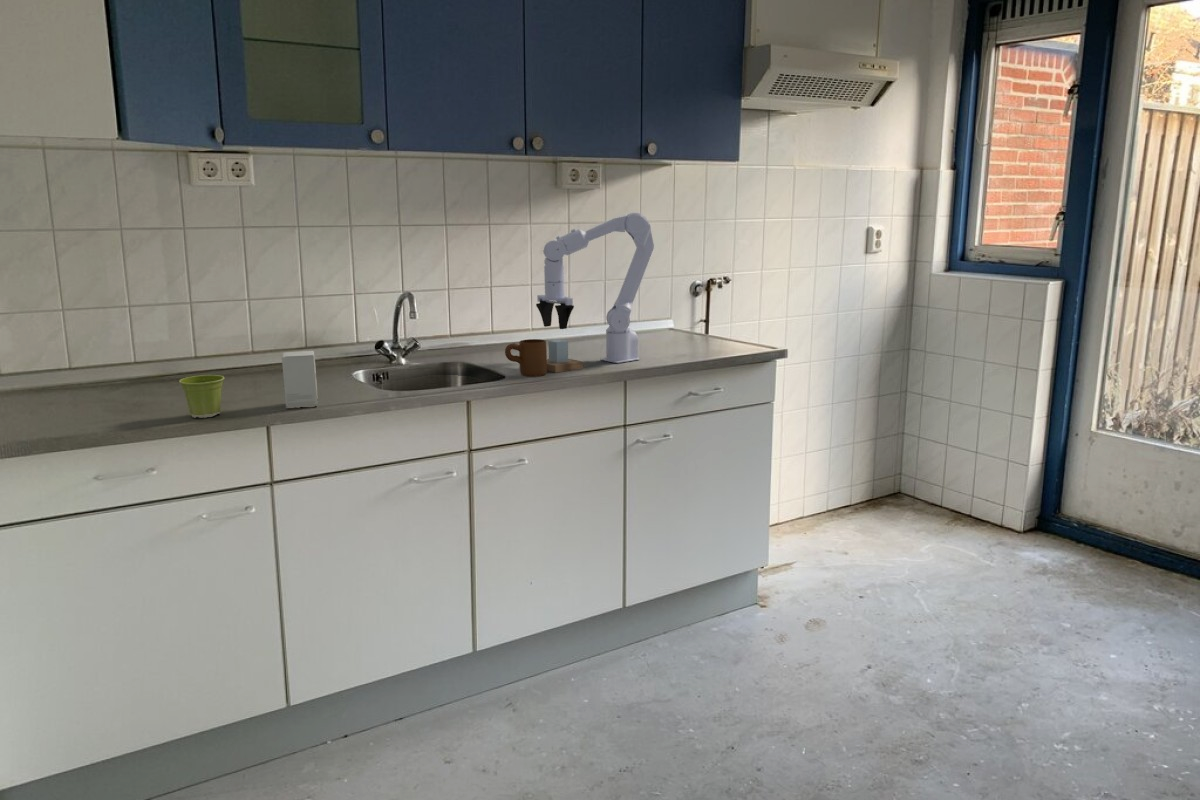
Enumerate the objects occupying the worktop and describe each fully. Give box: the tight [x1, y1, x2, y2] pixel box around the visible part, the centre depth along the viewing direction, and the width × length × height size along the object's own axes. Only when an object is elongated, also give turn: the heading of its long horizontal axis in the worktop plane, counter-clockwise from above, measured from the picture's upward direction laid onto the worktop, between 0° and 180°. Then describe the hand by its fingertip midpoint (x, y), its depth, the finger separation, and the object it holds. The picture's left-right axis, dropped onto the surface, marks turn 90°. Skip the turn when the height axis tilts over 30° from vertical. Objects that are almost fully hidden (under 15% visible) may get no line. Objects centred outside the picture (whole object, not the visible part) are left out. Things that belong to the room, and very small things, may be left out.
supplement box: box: [281, 350, 318, 407], centre depth 213 cm, size 7×7×13 cm
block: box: [548, 339, 569, 363], centre depth 258 cm, size 4×4×6 cm
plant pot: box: [178, 374, 225, 415], centre depth 204 cm, size 9×9×9 cm
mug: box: [504, 338, 548, 377], centre depth 248 cm, size 12×8×9 cm, turn 116°
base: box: [547, 358, 584, 374], centre depth 259 cm, size 10×10×2 cm
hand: (555, 327), depth 267 cm, fingers open, 7 cm apart
